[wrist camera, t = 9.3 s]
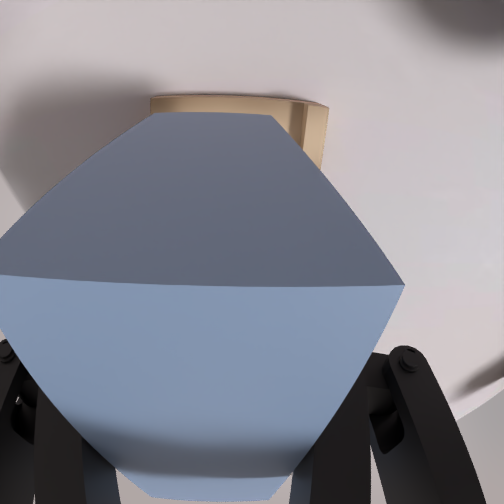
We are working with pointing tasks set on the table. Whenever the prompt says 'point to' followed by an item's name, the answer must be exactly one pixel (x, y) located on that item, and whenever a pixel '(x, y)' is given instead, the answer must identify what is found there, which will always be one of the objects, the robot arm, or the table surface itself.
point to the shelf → (282, 110)
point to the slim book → (196, 303)
